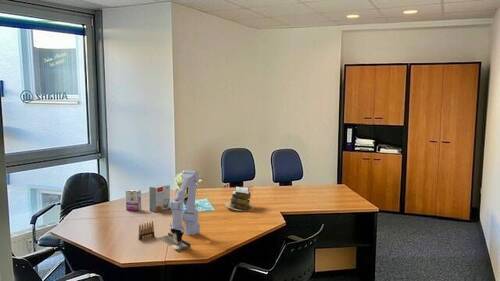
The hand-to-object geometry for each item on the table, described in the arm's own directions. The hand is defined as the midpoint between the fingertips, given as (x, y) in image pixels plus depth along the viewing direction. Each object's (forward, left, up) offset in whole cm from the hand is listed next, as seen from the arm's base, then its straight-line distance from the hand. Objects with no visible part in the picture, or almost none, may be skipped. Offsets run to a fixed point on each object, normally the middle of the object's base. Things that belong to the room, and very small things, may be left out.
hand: (177, 240), depth 260 cm
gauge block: (0, 0, -1) cm, 1 cm away
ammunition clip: (+11, -20, -3) cm, 23 cm away
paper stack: (-82, -40, -3) cm, 92 cm away
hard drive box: (-29, -77, -3) cm, 83 cm away
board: (+1, -3, -3) cm, 5 cm away
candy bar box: (-12, -89, -3) cm, 90 cm away
